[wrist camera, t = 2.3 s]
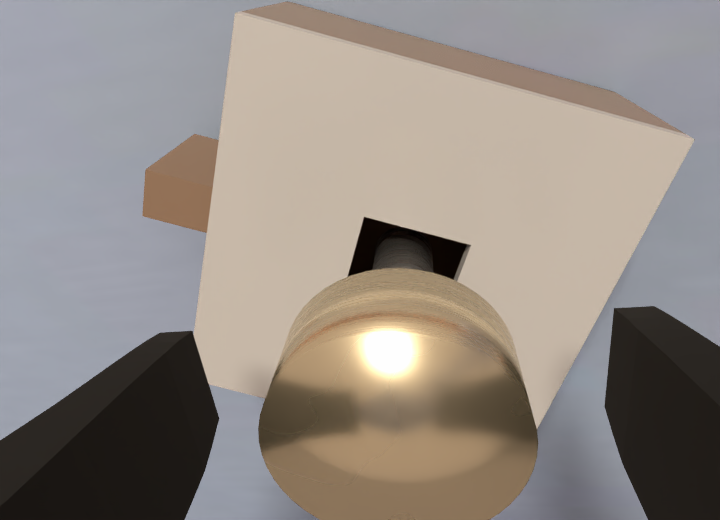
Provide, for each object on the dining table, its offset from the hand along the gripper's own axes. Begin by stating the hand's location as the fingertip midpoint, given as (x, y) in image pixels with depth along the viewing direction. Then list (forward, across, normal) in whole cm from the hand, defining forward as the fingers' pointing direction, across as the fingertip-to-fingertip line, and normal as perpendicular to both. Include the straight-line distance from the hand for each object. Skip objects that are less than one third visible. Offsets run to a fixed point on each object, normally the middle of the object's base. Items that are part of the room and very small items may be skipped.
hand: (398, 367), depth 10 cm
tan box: (+8, 0, 0) cm, 8 cm away
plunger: (+4, 0, 0) cm, 4 cm away
